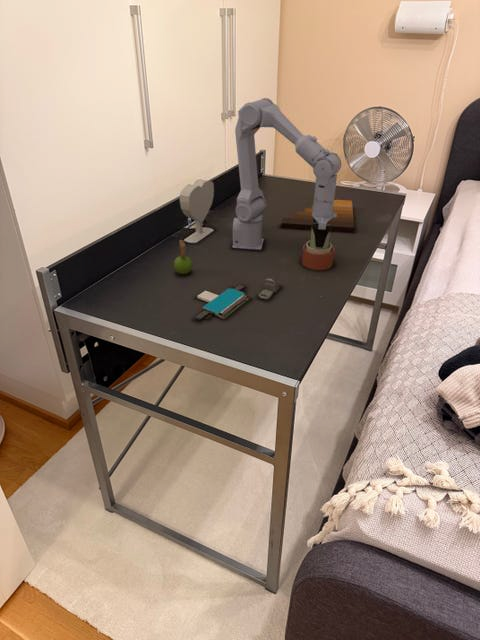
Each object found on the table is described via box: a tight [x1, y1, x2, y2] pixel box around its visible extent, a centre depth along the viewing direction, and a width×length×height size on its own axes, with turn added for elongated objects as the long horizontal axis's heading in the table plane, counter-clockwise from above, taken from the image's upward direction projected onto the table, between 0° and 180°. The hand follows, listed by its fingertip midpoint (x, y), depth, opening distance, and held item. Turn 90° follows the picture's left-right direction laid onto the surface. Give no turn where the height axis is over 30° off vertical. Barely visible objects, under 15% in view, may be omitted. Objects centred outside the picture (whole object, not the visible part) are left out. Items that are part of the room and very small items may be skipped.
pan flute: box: [281, 199, 355, 233], centre depth 175 cm, size 25×3×25 cm
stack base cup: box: [301, 243, 336, 271], centre depth 144 cm, size 10×10×5 cm
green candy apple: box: [173, 239, 193, 275], centre depth 136 cm, size 5×6×12 cm
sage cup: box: [309, 222, 331, 250], centre depth 141 cm, size 6×6×7 cm
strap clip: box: [258, 277, 281, 301], centre depth 130 cm, size 8×3×4 cm, turn 150°
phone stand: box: [195, 284, 250, 321], centre depth 126 cm, size 20×12×2 cm, turn 146°
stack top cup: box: [305, 240, 333, 254], centre depth 144 cm, size 8×8×6 cm
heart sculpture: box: [179, 179, 215, 244], centre depth 158 cm, size 16×5×18 cm, turn 152°
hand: (319, 242), depth 142 cm, fingers closed on sage cup, 5 cm apart
